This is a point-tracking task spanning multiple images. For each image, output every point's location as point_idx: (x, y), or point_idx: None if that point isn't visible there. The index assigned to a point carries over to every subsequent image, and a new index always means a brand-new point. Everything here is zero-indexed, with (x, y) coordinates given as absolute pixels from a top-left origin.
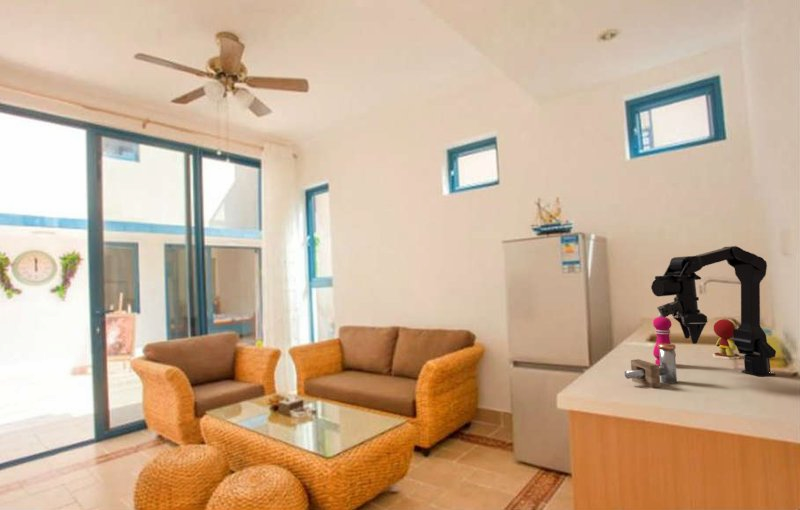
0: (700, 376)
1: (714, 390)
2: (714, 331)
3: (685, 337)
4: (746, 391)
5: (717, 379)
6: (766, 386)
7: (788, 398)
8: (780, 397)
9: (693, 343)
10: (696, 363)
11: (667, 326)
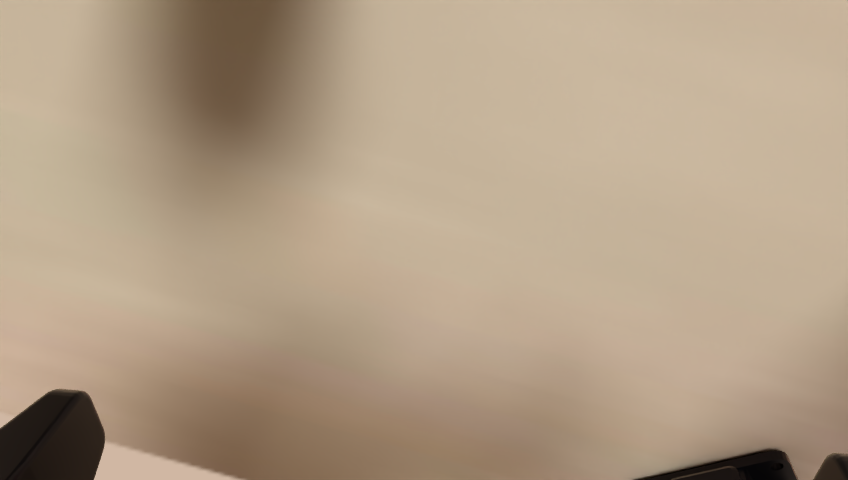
0: (640, 131)
1: (49, 87)
2: None
3: (840, 472)
4: (139, 291)
5: (514, 234)
6: (342, 427)
7: None
8: None
9: (59, 396)
10: None
11: None
